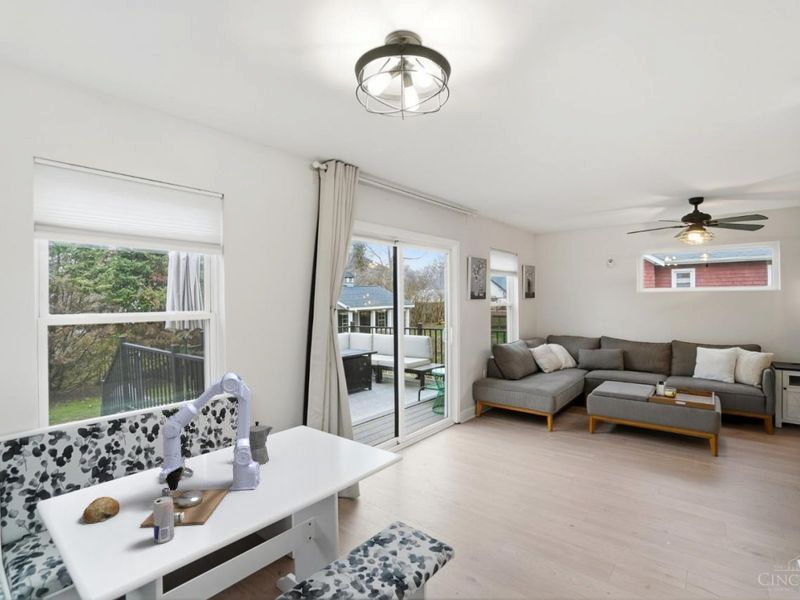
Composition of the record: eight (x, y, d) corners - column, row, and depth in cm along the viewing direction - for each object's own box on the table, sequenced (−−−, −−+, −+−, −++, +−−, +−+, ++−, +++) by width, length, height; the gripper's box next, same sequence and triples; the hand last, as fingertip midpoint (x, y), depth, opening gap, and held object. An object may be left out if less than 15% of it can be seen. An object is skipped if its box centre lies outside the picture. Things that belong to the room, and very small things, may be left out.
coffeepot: (274, 456, 192) (273, 417, 191) (272, 464, 182) (271, 423, 182) (238, 459, 188) (237, 420, 188) (235, 468, 179) (234, 426, 179)
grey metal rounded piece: (206, 495, 152) (206, 482, 152) (196, 507, 144) (196, 492, 144) (166, 497, 151) (165, 484, 151) (154, 509, 143) (153, 494, 143)
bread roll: (88, 536, 137) (92, 517, 135) (76, 515, 141) (79, 497, 139) (122, 522, 145) (126, 503, 143) (108, 502, 150) (112, 485, 148)
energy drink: (159, 534, 130) (158, 496, 130) (177, 533, 131) (176, 495, 131) (150, 544, 125) (149, 505, 125) (169, 543, 125) (168, 503, 125)
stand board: (229, 490, 158) (228, 481, 158) (203, 524, 135) (203, 514, 135) (175, 493, 157) (174, 484, 157) (140, 527, 134) (140, 517, 134)
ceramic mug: (164, 484, 165) (163, 465, 165) (164, 476, 172) (164, 458, 172) (194, 478, 170) (193, 460, 170) (192, 471, 177) (192, 453, 177)
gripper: (170, 446, 160) (172, 481, 160) (150, 461, 145) (151, 499, 146) (189, 445, 160) (190, 480, 160) (170, 460, 146) (172, 498, 146)
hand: (173, 489), depth 153 cm, fingers closed
